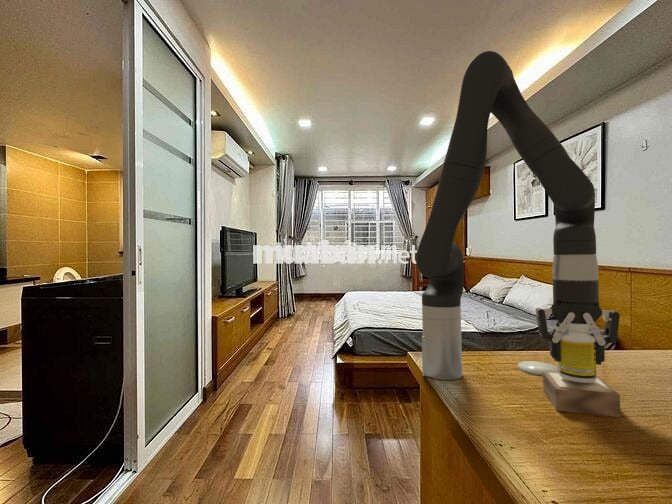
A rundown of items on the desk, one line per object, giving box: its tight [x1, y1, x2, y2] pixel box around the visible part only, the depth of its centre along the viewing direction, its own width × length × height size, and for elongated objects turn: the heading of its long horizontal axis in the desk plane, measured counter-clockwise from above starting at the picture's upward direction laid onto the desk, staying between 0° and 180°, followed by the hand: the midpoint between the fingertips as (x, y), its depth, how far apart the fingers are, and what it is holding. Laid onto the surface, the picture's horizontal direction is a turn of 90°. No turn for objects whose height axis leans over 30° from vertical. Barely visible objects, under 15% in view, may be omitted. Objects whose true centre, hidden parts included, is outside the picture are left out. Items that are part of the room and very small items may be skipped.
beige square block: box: [542, 372, 621, 418], centre depth 69 cm, size 10×10×4 cm
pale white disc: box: [517, 360, 559, 377], centre depth 89 cm, size 9×9×1 cm
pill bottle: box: [557, 323, 597, 383], centre depth 69 cm, size 6×6×11 cm
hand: (576, 361), depth 69 cm, fingers closed on pill bottle, 6 cm apart
